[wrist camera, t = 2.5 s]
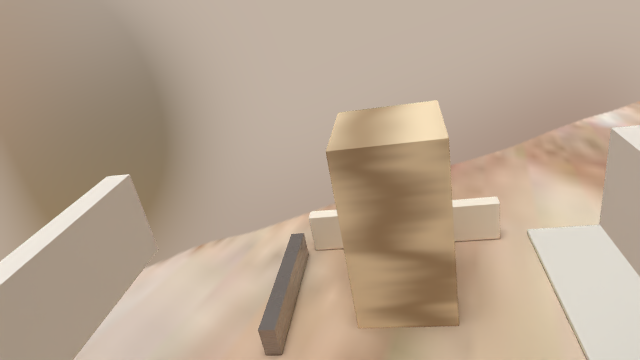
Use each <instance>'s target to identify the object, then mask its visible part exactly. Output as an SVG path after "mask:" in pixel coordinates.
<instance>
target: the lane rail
mask: <svg viewBox="0 0 640 360" xmlns="http://www.w3.org/2000/svg"><path fill="white" fill-rule="evenodd" d="M452 206H453V224H454V241H468V240H484V239H500V203H499V200H498V198H497V197H486V198H474V199H462V200H452ZM309 222H310V226H311V231H312V235H313V240H314V245H315V249H316V250H325V249H341V248H343V242H342V237H341V231H340V226H339V221H338V215H337V210H326V211H313V212H311V213H310V216H309Z"/></svg>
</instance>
